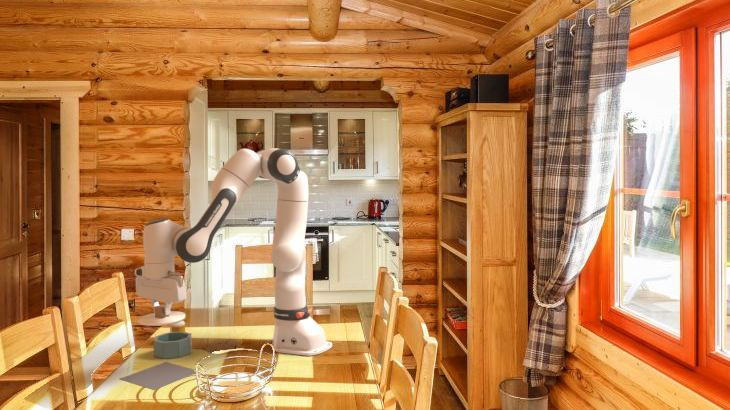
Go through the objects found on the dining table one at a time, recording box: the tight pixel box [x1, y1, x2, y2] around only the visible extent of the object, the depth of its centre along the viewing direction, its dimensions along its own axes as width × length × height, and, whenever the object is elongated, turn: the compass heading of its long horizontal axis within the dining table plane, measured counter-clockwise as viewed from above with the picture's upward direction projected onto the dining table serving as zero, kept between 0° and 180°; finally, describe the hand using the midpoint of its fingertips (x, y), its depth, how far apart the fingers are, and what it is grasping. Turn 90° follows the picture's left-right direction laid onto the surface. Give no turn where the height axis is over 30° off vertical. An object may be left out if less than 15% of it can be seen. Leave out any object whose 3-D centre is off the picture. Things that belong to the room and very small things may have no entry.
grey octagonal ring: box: [153, 331, 193, 360], centre depth 189 cm, size 12×12×6 cm
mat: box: [119, 361, 196, 391], centre depth 168 cm, size 17×17×1 cm
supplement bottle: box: [169, 320, 186, 332], centre depth 203 cm, size 5×5×10 cm
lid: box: [137, 304, 187, 327], centre depth 171 cm, size 14×14×4 cm
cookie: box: [202, 340, 245, 354], centre depth 194 cm, size 12×12×1 cm
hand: (162, 313), depth 171 cm, fingers closed on lid, 3 cm apart
